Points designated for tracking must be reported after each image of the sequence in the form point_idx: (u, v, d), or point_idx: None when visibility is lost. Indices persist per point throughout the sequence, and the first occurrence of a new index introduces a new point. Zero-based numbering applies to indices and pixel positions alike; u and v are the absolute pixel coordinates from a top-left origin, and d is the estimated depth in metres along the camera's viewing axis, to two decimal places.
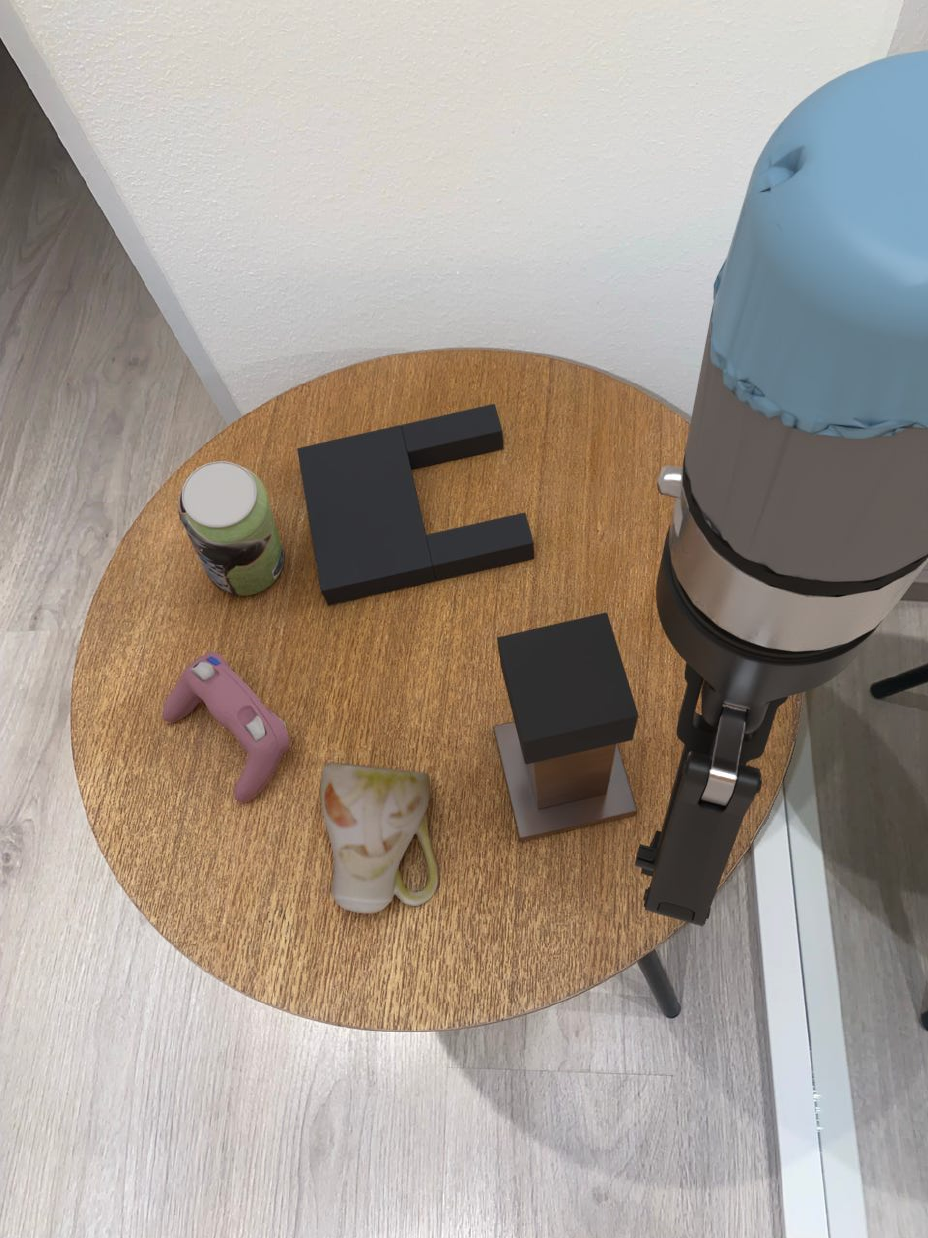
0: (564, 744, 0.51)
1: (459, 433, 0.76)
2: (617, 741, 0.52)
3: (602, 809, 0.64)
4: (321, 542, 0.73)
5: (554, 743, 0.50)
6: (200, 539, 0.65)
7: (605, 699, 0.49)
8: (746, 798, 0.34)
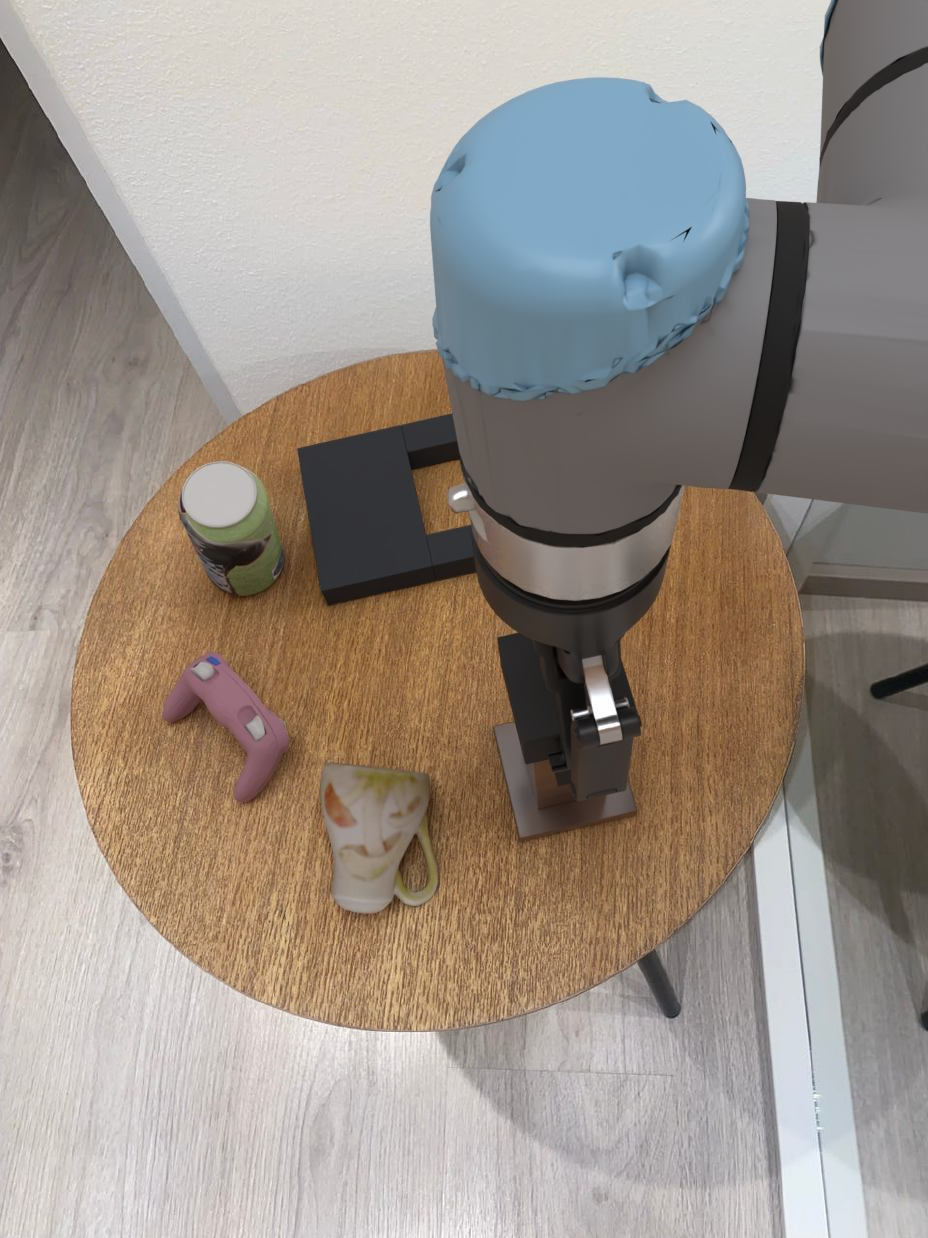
0: None
1: None
2: None
3: (602, 809, 0.64)
4: (321, 542, 0.73)
5: (554, 743, 0.50)
6: (200, 539, 0.65)
7: None
8: None
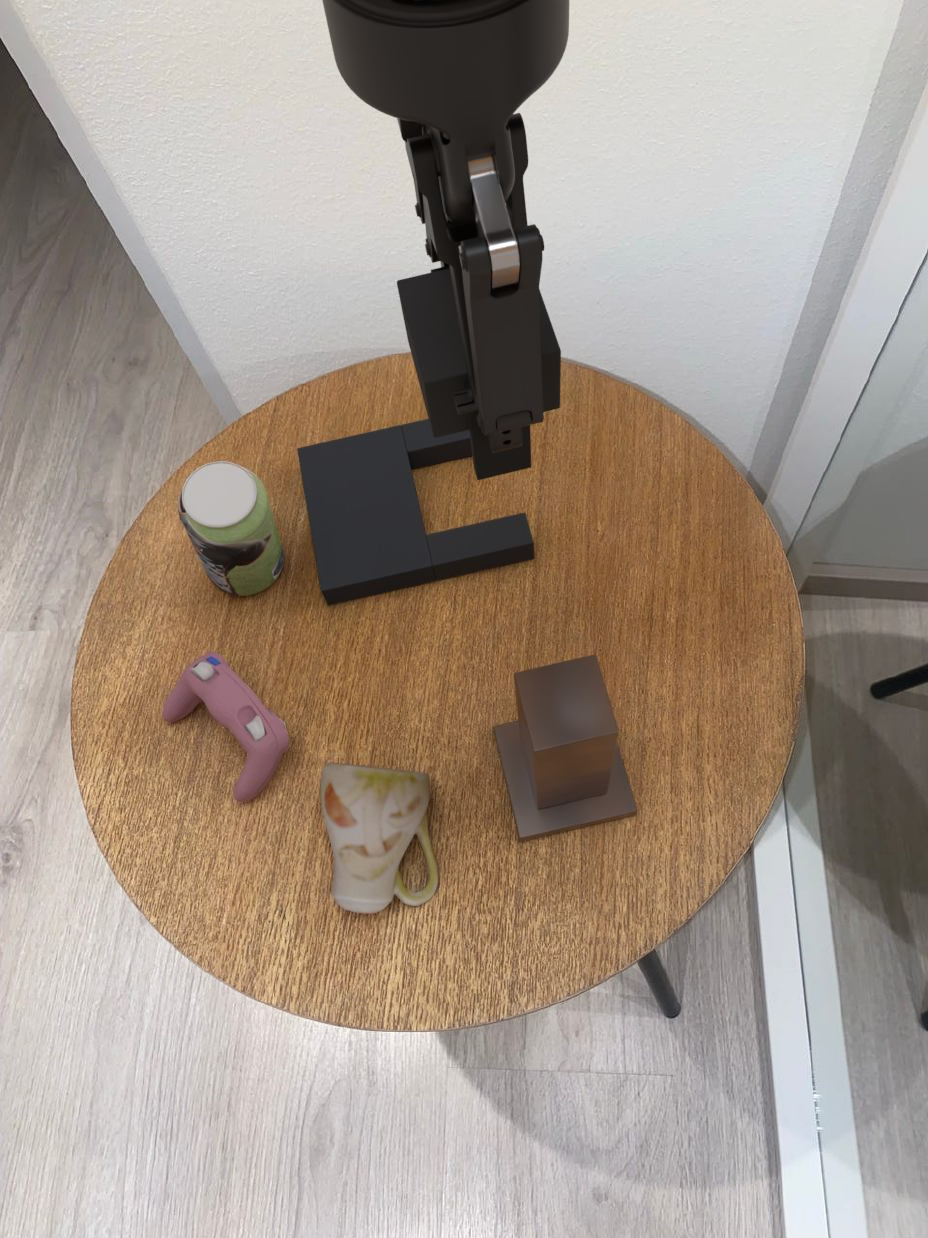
0: None
1: (459, 433, 0.76)
2: None
3: (602, 809, 0.64)
4: (321, 542, 0.73)
5: None
6: (200, 539, 0.65)
7: None
8: (535, 261, 0.31)
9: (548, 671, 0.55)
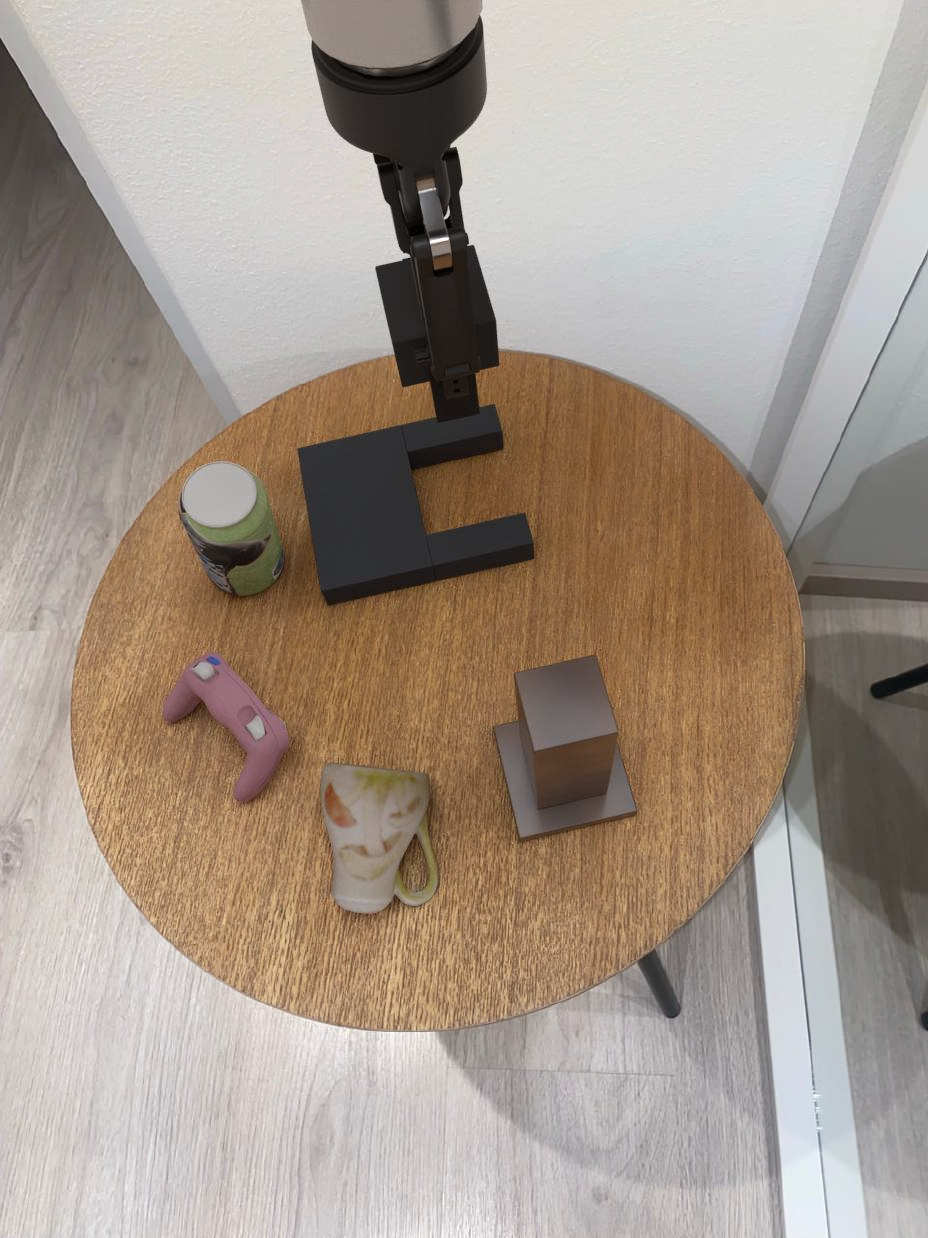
0: None
1: (459, 433, 0.76)
2: (484, 364, 0.58)
3: (602, 809, 0.64)
4: (321, 542, 0.73)
5: None
6: (200, 539, 0.65)
7: None
8: (462, 251, 0.45)
9: (548, 671, 0.55)
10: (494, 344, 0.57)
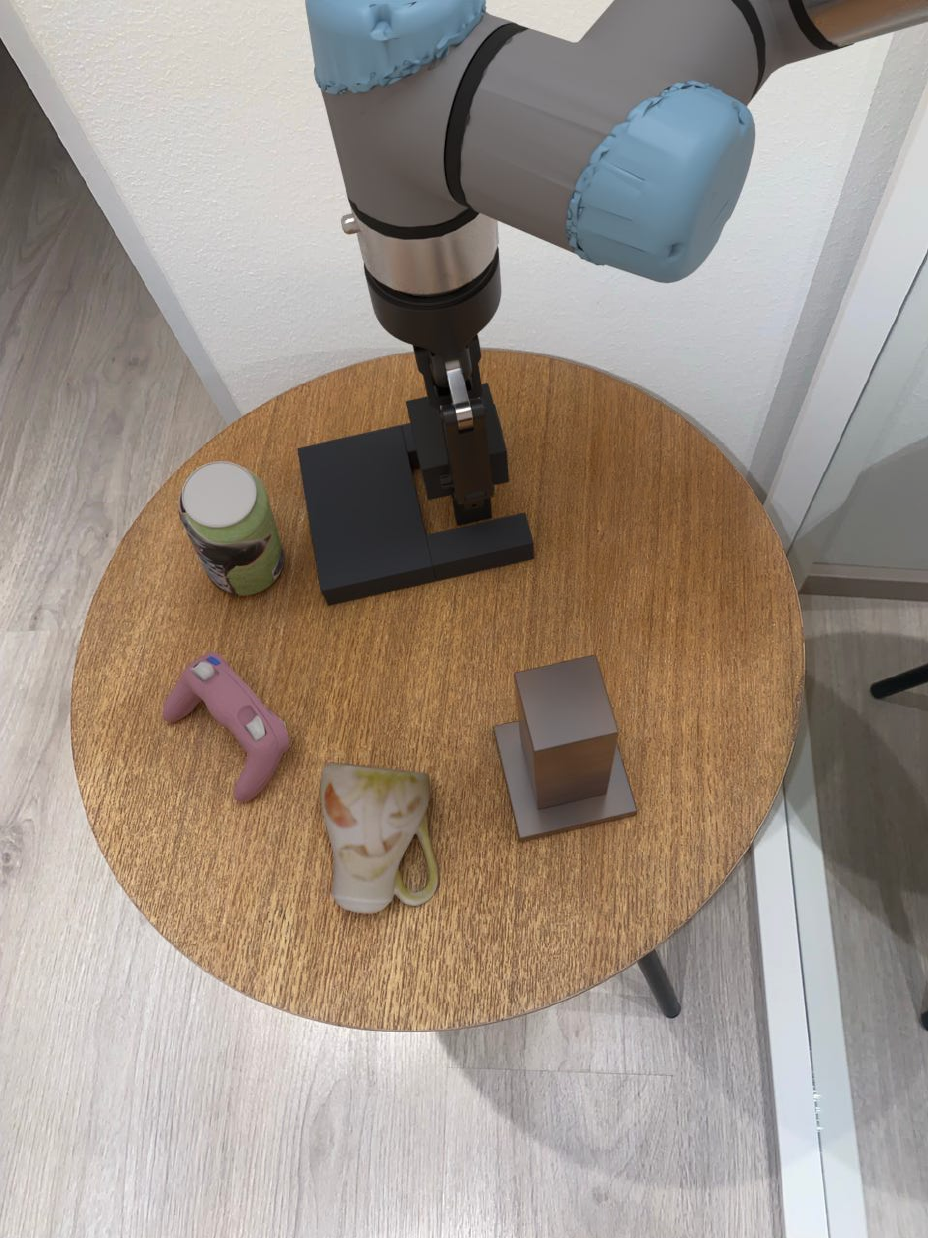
0: None
1: None
2: (496, 481, 0.69)
3: (602, 809, 0.64)
4: (321, 542, 0.73)
5: (446, 474, 0.67)
6: (200, 539, 0.65)
7: None
8: (481, 418, 0.56)
9: (548, 671, 0.55)
10: (505, 467, 0.68)
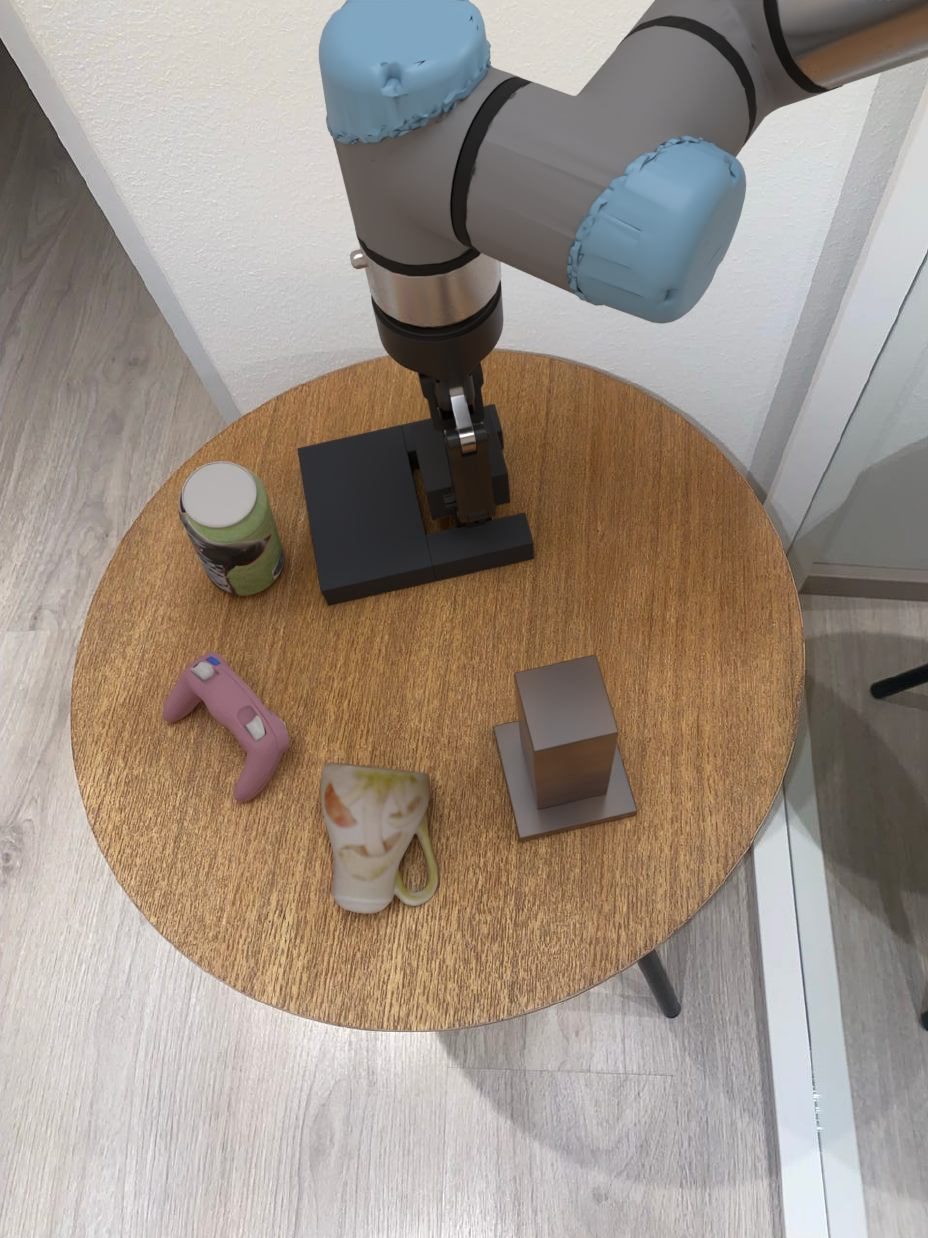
0: None
1: None
2: (498, 502, 0.72)
3: (602, 809, 0.64)
4: (321, 542, 0.73)
5: None
6: (200, 539, 0.65)
7: None
8: (484, 442, 0.59)
9: (548, 671, 0.55)
10: (506, 489, 0.71)
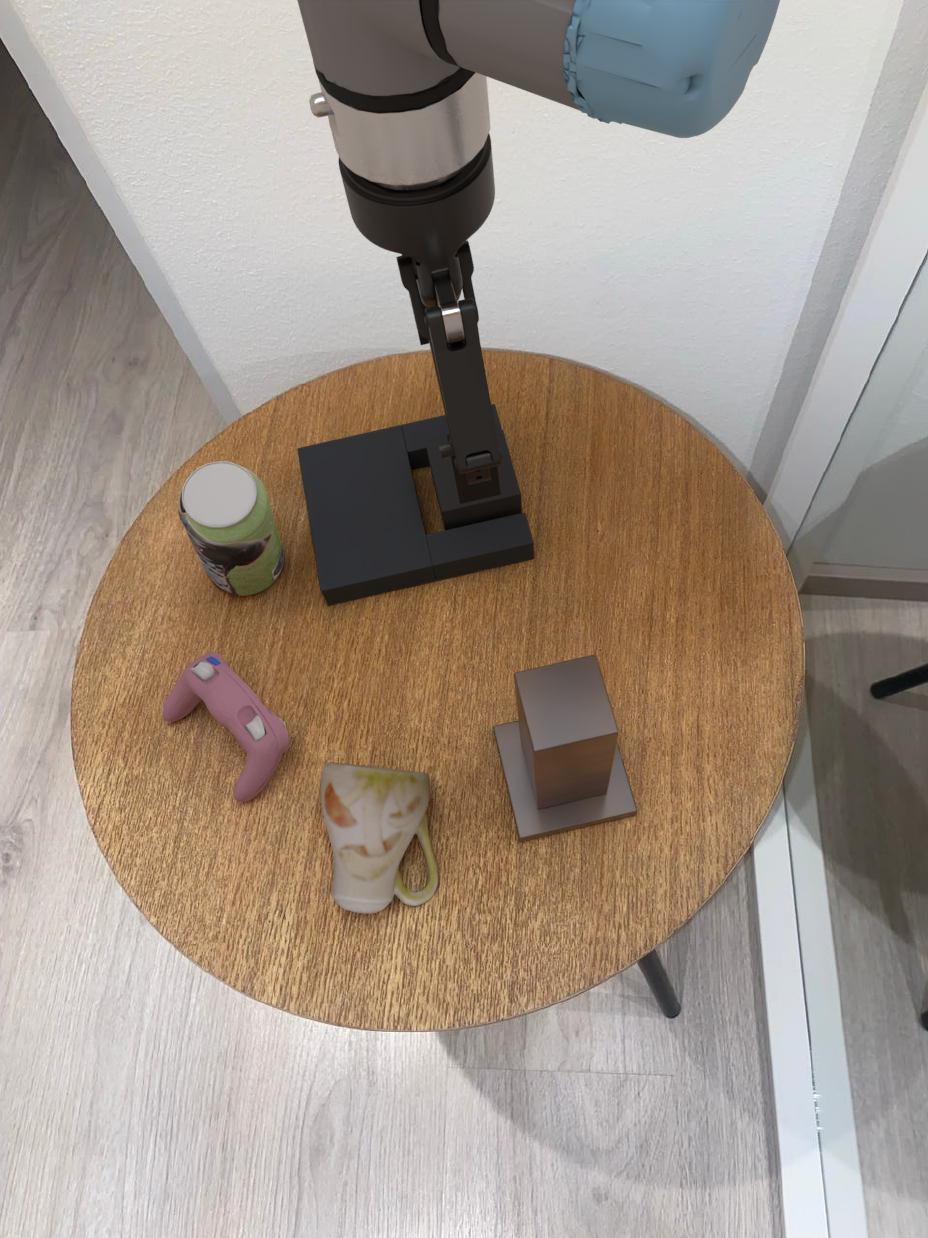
0: (472, 518, 0.73)
1: None
2: None
3: (602, 809, 0.64)
4: (321, 542, 0.73)
5: (464, 515, 0.72)
6: (200, 539, 0.65)
7: None
8: (472, 318, 0.49)
9: (548, 671, 0.55)
10: (519, 508, 0.73)
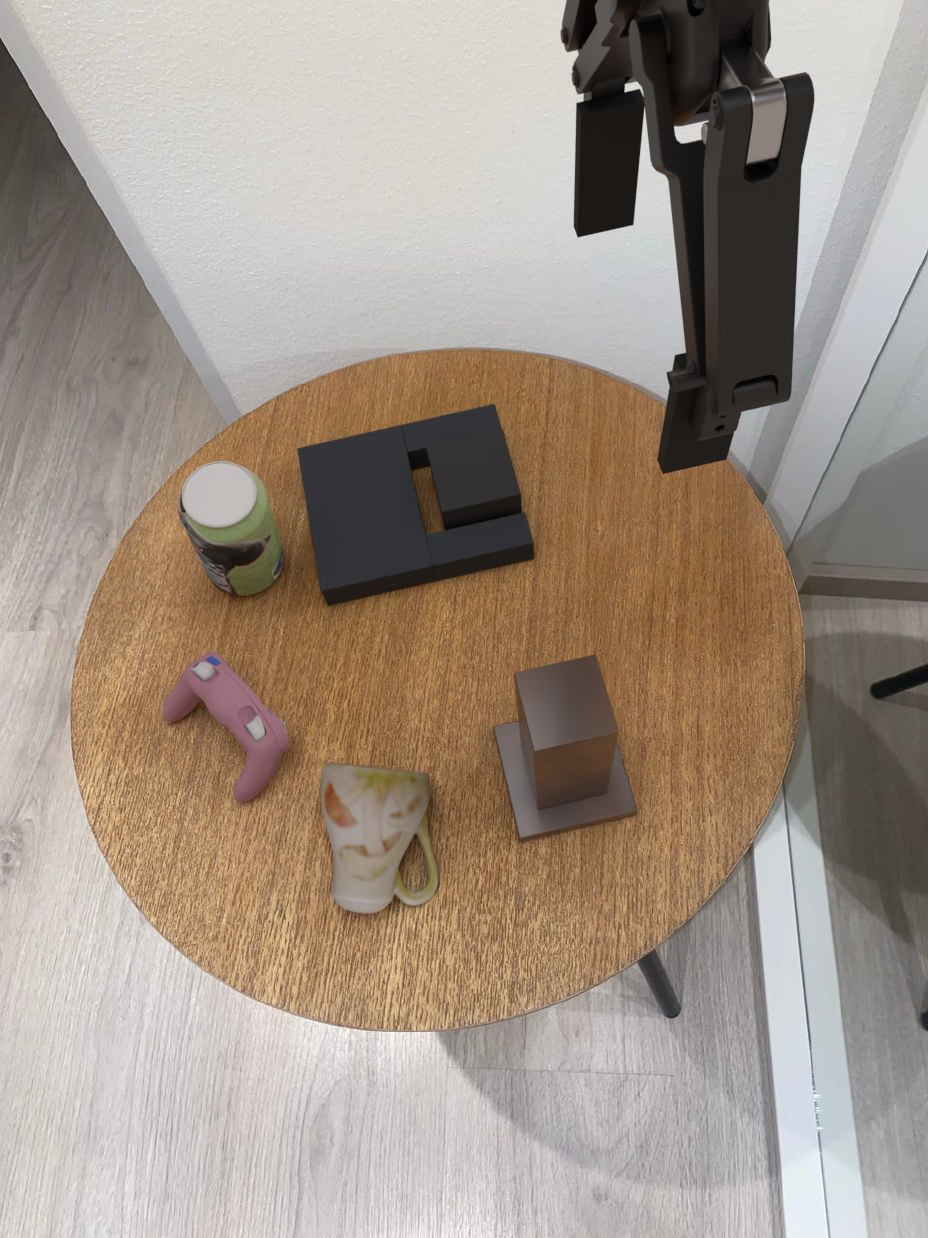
0: (472, 518, 0.73)
1: (459, 433, 0.76)
2: None
3: (602, 809, 0.64)
4: (321, 542, 0.73)
5: (464, 515, 0.72)
6: (200, 539, 0.65)
7: (499, 483, 0.72)
8: (804, 110, 0.26)
9: (548, 671, 0.55)
10: (519, 508, 0.73)
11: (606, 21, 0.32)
